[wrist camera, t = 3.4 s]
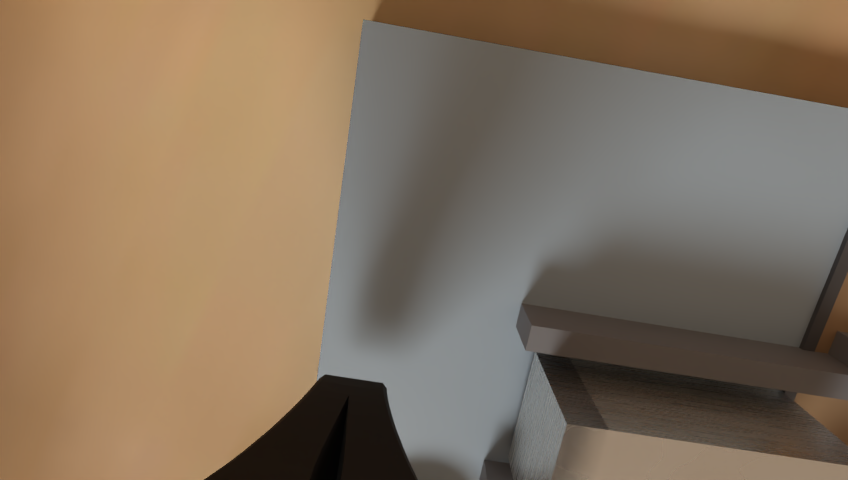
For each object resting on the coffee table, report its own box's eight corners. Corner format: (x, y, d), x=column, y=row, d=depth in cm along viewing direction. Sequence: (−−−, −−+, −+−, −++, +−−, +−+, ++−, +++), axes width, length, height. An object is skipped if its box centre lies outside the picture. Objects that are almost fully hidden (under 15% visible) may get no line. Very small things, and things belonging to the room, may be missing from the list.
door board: (296, 577, 16) (251, 753, 12) (369, 26, 12) (338, -10, 7) (792, 642, 17) (916, 828, 13) (1033, 147, 12) (1347, 176, 8)
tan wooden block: (507, 457, 13) (530, 552, 10) (535, 350, 12) (566, 423, 10) (737, 490, 13) (816, 591, 11) (779, 388, 13) (876, 470, 10)
